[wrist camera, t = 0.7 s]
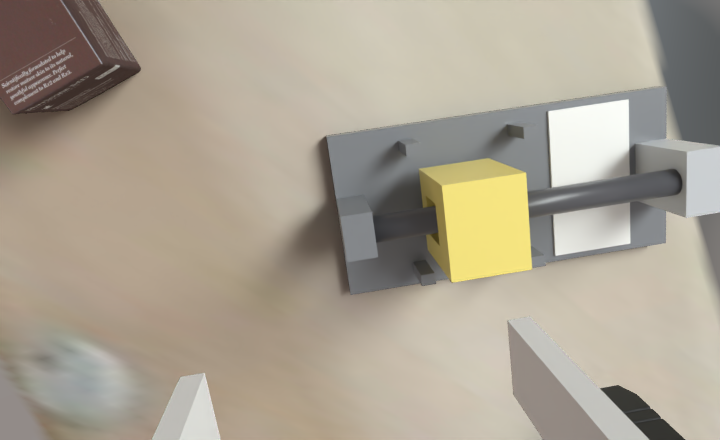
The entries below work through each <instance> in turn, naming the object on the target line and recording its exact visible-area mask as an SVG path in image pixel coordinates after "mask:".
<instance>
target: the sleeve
mask: <svg viewBox="0 0 720 440" xmlns="http://www.w3.org/2000/svg"><path fill="white" fill-rule="evenodd" d="M419 176H420V185H421V194H422V203H423V208H425V207H431V206H436V215H437V225H438V233H435V234H429V235H426V239H427V248H428V251H429V252H430V254H431V255H432V256H433V258H434V259H435V260H436V262H437V263H438V265H439V266H440V267H441V269H442V270H443V271H444V273H445V274H446V276H447V277H448V278H449V280H450V281H451V282H452V283H453V282H459V281H465V280H471V279H477V278H483V277H489V276H495V275H501V274H508V273H514V272H520V271H526V270H532V259H531V243H530V226H529V210H528V194H527V178H526V172H523V171H521V170H518V169H515V168H513V167H510V166H508V165H505V164H502V163H500V162H497V161H494V160H492V159H489V158H486V159H479V160H473V161H466V162H460V163H453V164H447V165H440V166H434V167H427V168H421V169H419Z"/></svg>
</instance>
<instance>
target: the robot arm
mask: <svg viewBox="0 0 720 440" xmlns="http://www.w3.org/2000/svg"><path fill="white" fill-rule="evenodd" d="M507 321H508V334H509V347H510V359H511V372H512V385H513V395H514V396H515V398H516V399H517V401H518V402H519V404H520V405H521V407H522V408H523V410H524V411H525V413H526V414H527V416H528V417H529V419H530V420H531V422H532V423H533V425H534V426H535V428H536V429H537V431H538V432H539V434H540V435H541V437H542V438H543V440H685V439H684V438H683V437H682V436H681V435H680V434H679V433H677V432H676V431H675V430H674V429H673V428H672V427H671V426H670V425H669V424H668V423H667V422H666V421H665V420H664V419H661V418H660V416H659V415H658V414H657V413H656V412H655V411H654V410H653V409H650V406H649V405H647V404H646V403H645V402H644V401H643V400H642V399H641V398H640V397H639V396H638V395H637V394H635V393H633V392H631V391H629V390H627V389H625V388H623V387H621V386H619V385H617V386H611V387H606V388H599V387H598V386H597V385H596V384H595V383H594V382H593V381H592V380H591V379H590V378H589V377H588V376H587V375H586V374H585V373H584V372H583V371H582V370H581V369H580V367H579V366H578V365H577V364H576V363H575V362H574V361H573V360H572V359H571V358H570V357H569V356H568V355H567V354H566V353H565V352H564V351H563V350H562V349H561V348H560V347H559V346H558V345H557V344H556V343H555V342H554V341H553V340H552V339H551V337H550V336H549V335H548V334H547V333H546V332H545V331H544V330H543V329H542V328H541V327H540V326H539V325H538V324H537V323H536V322H535V321H534V320H533V319H532V318H531V317H524V318H518V319H513V320H507ZM152 440H221V439H220V435H219V431H218V427H217V423H216V418H215V414H214V410H213V406H212V402H211V398H210V394H209V389H208V385H207V381H206V377H205V373H201V374H195V375H189V376H183V377H180V379H179V381H178V383H177V385H176V387H175V390H174V392H173V394H172V396H171V398H170V401H169V403H168V405H167V407H166V409H165V412H164V414H163V416H162V418H161V420H160V423H159V425H158V427H157V429H156V431H155V434H154V436H153V438H152Z"/></svg>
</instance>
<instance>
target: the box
mask: <svg viewBox="0 0 720 440" xmlns="http://www.w3.org/2000/svg"><path fill="white" fill-rule="evenodd" d="M140 70H141V68H140V66H139V64H138V62H137V61H136V59H135V58H134V56H133V55H132V53H131V52H130V50H129V49H128V47H127V46H126V44H125V43H124V41H123V39H122V38H121V36H120V35H119V33H118V31H117V30H116V28H115V27H114V25H113V24H112V22H111V20H110V19H109V17H108V16H107V14H106V13H105V11H104V9H103V8H102V6H101V4H100V3H99V1H98V0H0V98H1V99H2V100H3V102H4V103H5V105H6V106H7V107H8V109H9V110H10V112H11V113H12V114H20V113H35V112H53V111H69V110H71V109H73V108H75V107H77V106H79V105H81V104H82V103H84V102H86V101H88V100H90V99H92V98H94V97H96V96H97V95H99V94H101V93H103V92H105V91H106V90H108V89H110V88H112V87H113V86H115V85H117V84H118V83H120V82H122V81H124V80H125V79H127V78H129V77H130V76H132V75H134V74H136V73H137V72H139V71H140Z"/></svg>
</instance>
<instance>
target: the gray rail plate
mask: <svg viewBox="0 0 720 440" xmlns="http://www.w3.org/2000/svg"><path fill="white" fill-rule="evenodd" d="M666 95H667V87H651V88H644V89H637V90H630V91H624V92H617V93H610V94H603V95H597V96H590V97H583V98H576V99H570V100H563V101H556V102H549V103H543V104H536V105H529V106H522V107H516V108H509V109H502V110H495V111H489V112H482V113H475V114H468V115H462V116H455V117H448V118H441V119H435V120H428V121H421V122H415V123H408V124H401V125H394V126H388V127H381V128H374V129H367V130H361V131H354V132H347V133H340V134H334V135H327V136H326V138H327V144H328V151H329V157H330V164H331V170H332V177H333V183H334V190H335V196H336V203H337V209H338V216H339V222H340V229H341V235H342V242H343V249H344V255H345V262H346V268H347V275H348V281H349V288H350V293H351V295H353V294H359V293H365V292H371V291H377V290H383V289H389V288H395V287H401V286H407V285H413V284H419V283H421V285H422V286H425V285H431V284H436V281H438V280H444V279H449V278H448V277H447V276H446V274H445V273H444V271H443V270H442V269H441V267H440V266H439V265H438V263H437V262H436V260H435V259H434V258H433V256H432V255H431V254H430V252H429V251H428V248H427V239H426V235H429V234H435V233H438V225H437V215H436V206H431V207H425V208H423V203H422V194H421V185H420V176H419V169H421V168H427V167H434V166H440V165H447V164H453V163H460V162H466V161H473V160H479V159H486V158H489V159H492V160H494V161H497V162H500V163H502V164H505V165H508V166H510V167H513V168H515V169H518V170H521V171H523V172H526V178H527V194H528V210H529V226H530V243H531V259H532V268H534V267H540V266H546V263H547V262H553V261H559V260H565V259H571V258H577V257H583V256H589V255H595V254H601V253H608V252H614V251H620V250H626V249H632V248H638V247H644V246H650V245H656V244H662V243H666V211H668V212H671V213H674V214H677V215H680V216H683V217H686V218H687V217H693V216H700V215H706V214H712V213H718V212H720V146H717V145H710V144H702V143H695V142H688V141H680V140H673V139H666Z"/></svg>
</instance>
